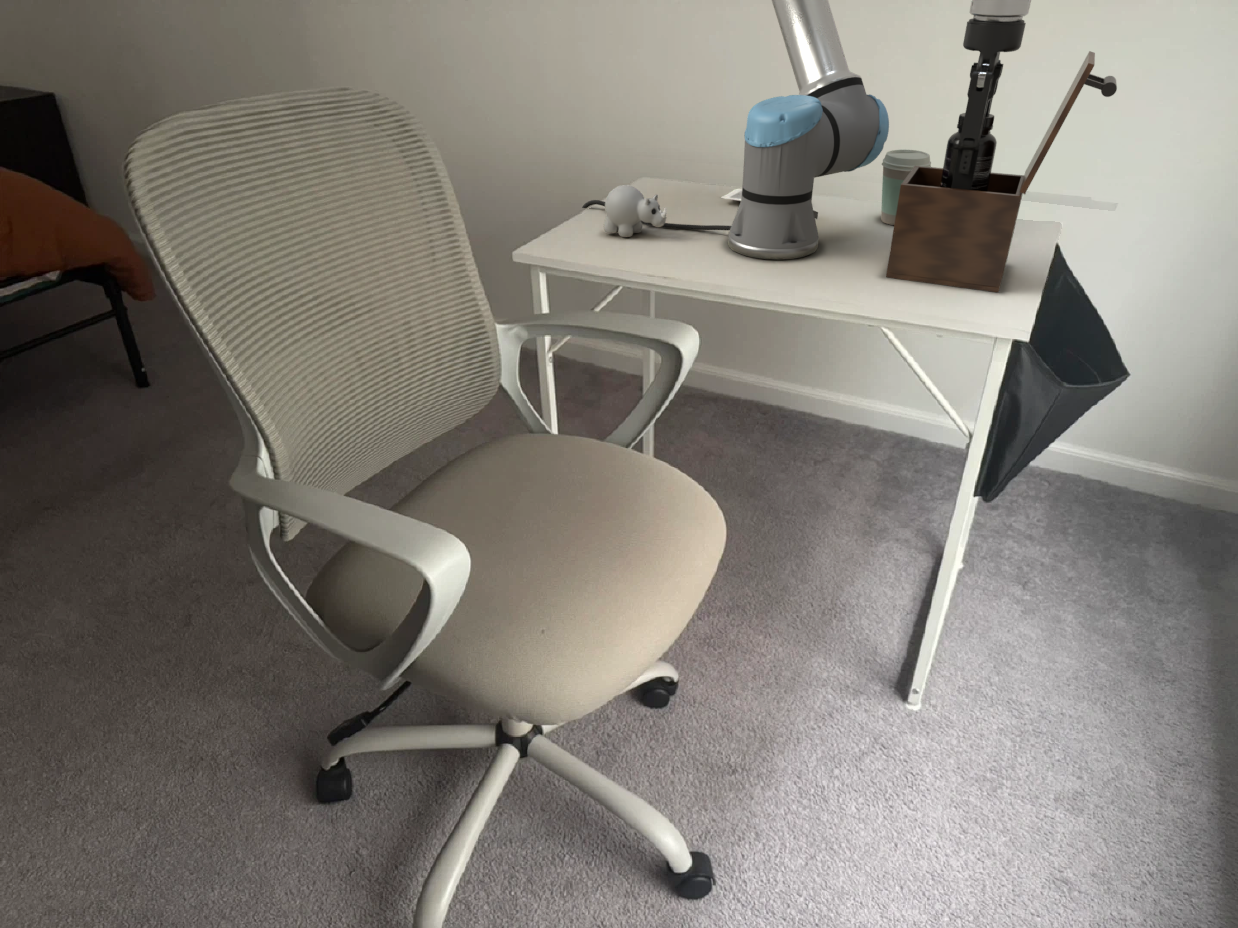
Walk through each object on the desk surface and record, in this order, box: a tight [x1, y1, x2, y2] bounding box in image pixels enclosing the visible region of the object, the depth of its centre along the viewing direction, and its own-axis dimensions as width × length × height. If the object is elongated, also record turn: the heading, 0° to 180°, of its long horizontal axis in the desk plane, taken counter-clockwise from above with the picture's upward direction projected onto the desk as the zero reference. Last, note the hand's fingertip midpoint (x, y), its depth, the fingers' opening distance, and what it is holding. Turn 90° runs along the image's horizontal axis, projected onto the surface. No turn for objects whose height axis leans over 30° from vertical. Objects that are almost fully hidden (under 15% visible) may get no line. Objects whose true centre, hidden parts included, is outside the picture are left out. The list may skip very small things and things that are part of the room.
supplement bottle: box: [940, 112, 998, 192], centre depth 127 cm, size 7×7×12 cm
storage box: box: [885, 166, 1025, 293], centre depth 132 cm, size 17×13×14 cm
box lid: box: [1020, 50, 1118, 195], centre depth 120 cm, size 17×13×5 cm
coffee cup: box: [880, 149, 932, 226], centre depth 156 cm, size 8×8×12 cm
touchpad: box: [720, 188, 742, 202], centre depth 169 cm, size 8×15×2 cm, turn 59°
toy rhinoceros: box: [603, 184, 668, 238], centre depth 151 cm, size 7×12×8 cm, turn 57°
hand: (962, 188), depth 129 cm, fingers closed on supplement bottle, 7 cm apart
